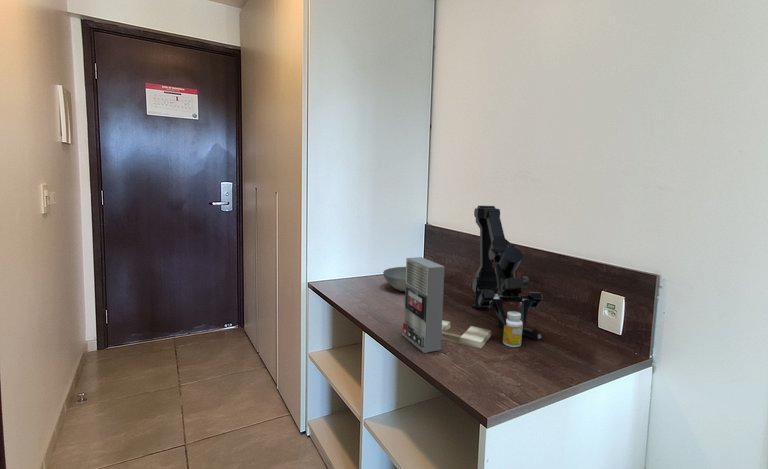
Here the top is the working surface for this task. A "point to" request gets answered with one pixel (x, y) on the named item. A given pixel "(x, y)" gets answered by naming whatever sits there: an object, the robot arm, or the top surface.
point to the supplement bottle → (513, 329)
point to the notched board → (466, 336)
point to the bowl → (396, 277)
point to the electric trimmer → (528, 332)
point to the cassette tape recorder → (423, 304)
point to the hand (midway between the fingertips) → (514, 324)
